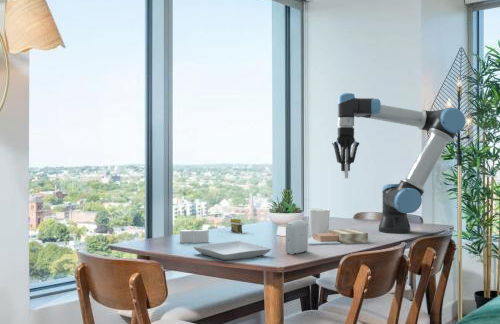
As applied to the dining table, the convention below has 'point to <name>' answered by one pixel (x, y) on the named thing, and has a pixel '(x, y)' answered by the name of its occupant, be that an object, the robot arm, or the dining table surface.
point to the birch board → (350, 236)
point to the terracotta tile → (325, 237)
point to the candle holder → (319, 220)
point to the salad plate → (232, 250)
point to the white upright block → (296, 236)
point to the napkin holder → (194, 236)
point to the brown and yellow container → (236, 225)
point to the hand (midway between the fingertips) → (345, 178)
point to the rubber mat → (315, 242)
